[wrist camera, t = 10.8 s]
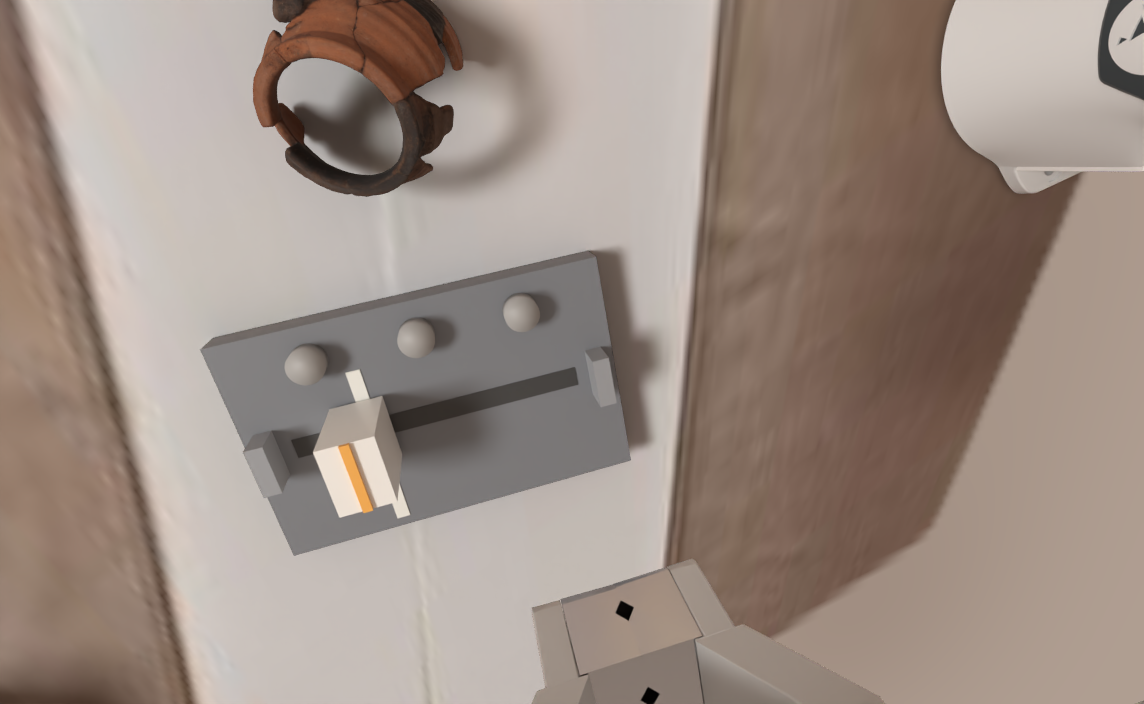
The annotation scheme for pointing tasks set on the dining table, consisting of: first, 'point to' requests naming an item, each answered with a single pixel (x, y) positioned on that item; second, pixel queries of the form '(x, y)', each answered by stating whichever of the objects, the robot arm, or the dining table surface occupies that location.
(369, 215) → the dining table surface
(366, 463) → the fader tab
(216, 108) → the dining table surface
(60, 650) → the dining table surface
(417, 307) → the console
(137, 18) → the dining table surface
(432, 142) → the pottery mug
